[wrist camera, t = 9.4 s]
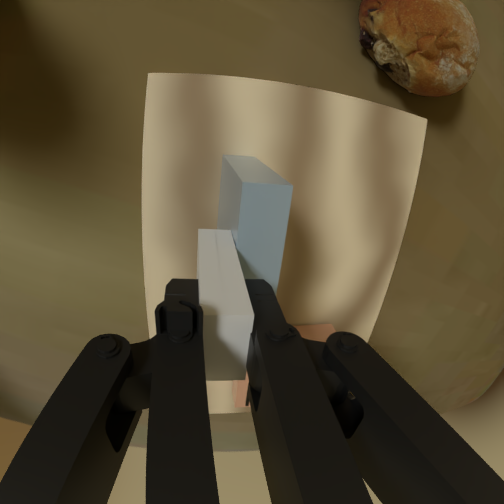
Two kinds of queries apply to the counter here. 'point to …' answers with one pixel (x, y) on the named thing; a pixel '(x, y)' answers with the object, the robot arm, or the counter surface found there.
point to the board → (303, 195)
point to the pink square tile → (306, 331)
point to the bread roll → (421, 43)
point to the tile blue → (255, 215)
